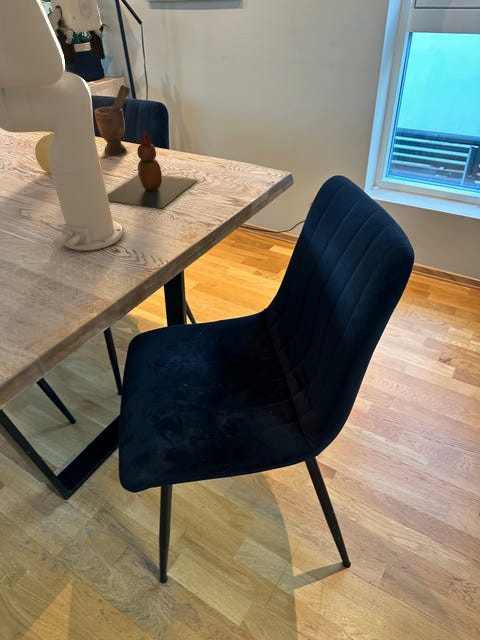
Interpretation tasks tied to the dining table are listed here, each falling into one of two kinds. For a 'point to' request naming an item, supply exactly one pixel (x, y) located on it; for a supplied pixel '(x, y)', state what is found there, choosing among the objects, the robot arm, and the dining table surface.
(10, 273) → the dining table surface
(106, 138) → the mortar and pestle
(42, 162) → the sculpture
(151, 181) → the wooden figurine
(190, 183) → the mat
